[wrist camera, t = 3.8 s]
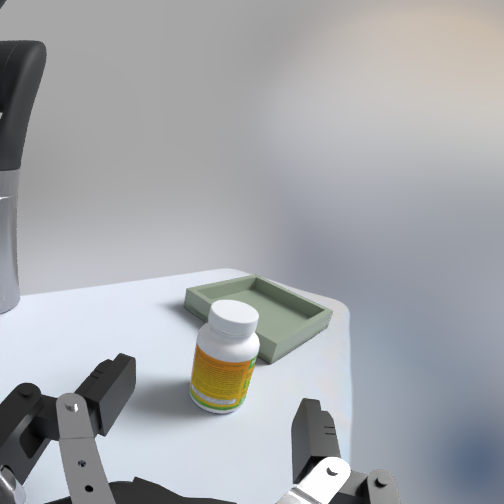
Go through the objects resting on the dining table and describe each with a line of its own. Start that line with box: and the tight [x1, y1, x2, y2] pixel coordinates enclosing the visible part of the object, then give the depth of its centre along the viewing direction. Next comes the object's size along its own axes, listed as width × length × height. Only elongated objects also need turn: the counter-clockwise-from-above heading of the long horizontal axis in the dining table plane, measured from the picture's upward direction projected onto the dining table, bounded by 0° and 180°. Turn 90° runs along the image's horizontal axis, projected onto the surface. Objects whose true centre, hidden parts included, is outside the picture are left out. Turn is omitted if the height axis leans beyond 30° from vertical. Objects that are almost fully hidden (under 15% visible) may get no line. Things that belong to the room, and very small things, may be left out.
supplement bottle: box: [190, 300, 260, 413], centre depth 25 cm, size 5×5×10 cm
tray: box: [184, 275, 333, 364], centre depth 44 cm, size 16×16×3 cm
